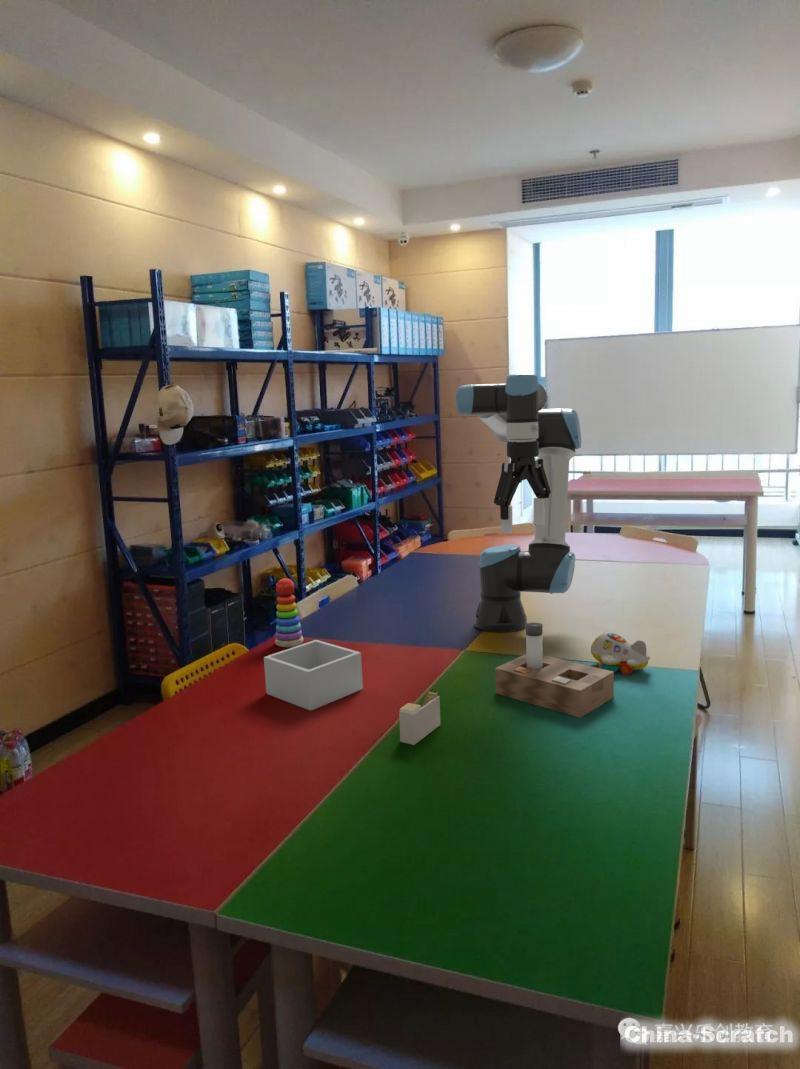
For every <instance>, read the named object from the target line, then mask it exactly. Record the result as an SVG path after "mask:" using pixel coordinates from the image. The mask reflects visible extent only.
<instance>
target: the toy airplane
mask: <svg viewBox="0 0 800 1069" xmlns="http://www.w3.org/2000/svg"><path fill="white" fill-rule="evenodd" d="M590 653H591V655H592V657H593V658H594V659H595V660H596V661H597V662H599V664H598V668H600V669H605V670H609V671H613V672H614V673H616V672H617V671H618V670H620V672H621V674H622V675H624V676H628V675H630V674H632V672H633V670H642V669H644V668H646V667H647V666H648V664H649V661H650V659H651V656H650V655H649V654H647V645H646V643H645V641H643V640H641V639H639V640H636V641H635V642H633V643H632V644H631V642H629V641H627V639H626V638H624V637H622V636H621V635H619V634H617V633H613V632H609V633H608V632H604V633H602V634H600V635H599V636H597V637H596V638H595V639H594V640H593V641H592V643H591V645H590Z"/></svg>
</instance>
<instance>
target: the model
mask: <svg viewBox="0 0 800 1069" xmlns="http://www.w3.org/2000/svg"><path fill="white" fill-rule="evenodd" d="M438 694H439V692H438V691H436V692H431V691H430V689H428V691H427V693H426V696H425V698H424V700H423V703H422V706H421V705H420V704H417V703H411V702H407V703H406V704H404V705H403V706H402V707H400V708H399V711H398V718H399V719H398V720H399V739H400V740H399V742H401V743H404V744H408V745H412V746H414V745H416V744H417V743H420V741H421V740H423V739H424V738H425V737H426V736H428V735H429V734H430V733H432V732H433V731H435V729H437V728H438V727H440V726H441V703H440V698H441V696H440V695H438Z"/></svg>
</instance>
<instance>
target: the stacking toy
mask: <svg viewBox="0 0 800 1069" xmlns="http://www.w3.org/2000/svg"><path fill="white" fill-rule="evenodd" d="M275 590H276V592H277V594H278V596H277V598H276V601H277V604H276V607H275V608H276V609H277V610H276V613H275V614H276V617H277V618H276V619H275V621H276V622H275V623H276V625H275V629H276V631H275V635H274V636H275V640H274V644H275V645H276V646H278V647H281V648H293V647H296V646H299V645H302V644H304V643H303V642H304V640H305V639H304V637H303V631H302V629H301V628H302V624H301V622H300V621H301V619H300V616H299V615H298V614H299V611H298V609H297V604H296V596H295V595H294V594H293V593H294V591H295V583H294V582H293V581H292V579H290V578H288V577H284V578H281V579H279V580H278V581H277V582H276V586H275Z"/></svg>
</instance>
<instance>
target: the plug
mask: <svg viewBox="0 0 800 1069" xmlns="http://www.w3.org/2000/svg"><path fill="white" fill-rule="evenodd" d="M524 629H525V643H526V644H525V645H526V646H525V650H526V651H525V652H526V653H525V654H526V657H527V668H529V669H533V670H537V671H538V670H540V669H542V668H543V655H544V654H543V634H544V631H543V623H539V622H527V624H526V625H525V628H524Z"/></svg>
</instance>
